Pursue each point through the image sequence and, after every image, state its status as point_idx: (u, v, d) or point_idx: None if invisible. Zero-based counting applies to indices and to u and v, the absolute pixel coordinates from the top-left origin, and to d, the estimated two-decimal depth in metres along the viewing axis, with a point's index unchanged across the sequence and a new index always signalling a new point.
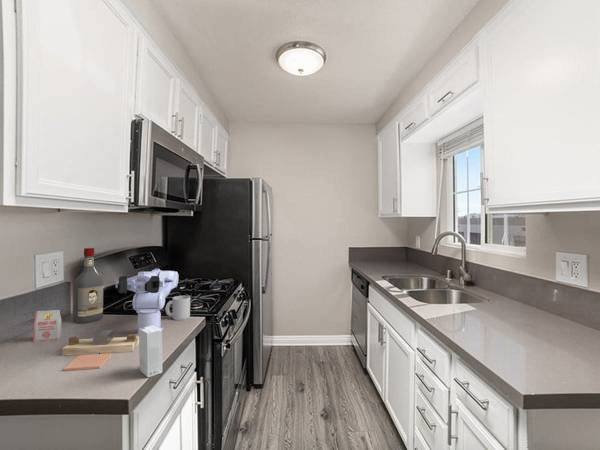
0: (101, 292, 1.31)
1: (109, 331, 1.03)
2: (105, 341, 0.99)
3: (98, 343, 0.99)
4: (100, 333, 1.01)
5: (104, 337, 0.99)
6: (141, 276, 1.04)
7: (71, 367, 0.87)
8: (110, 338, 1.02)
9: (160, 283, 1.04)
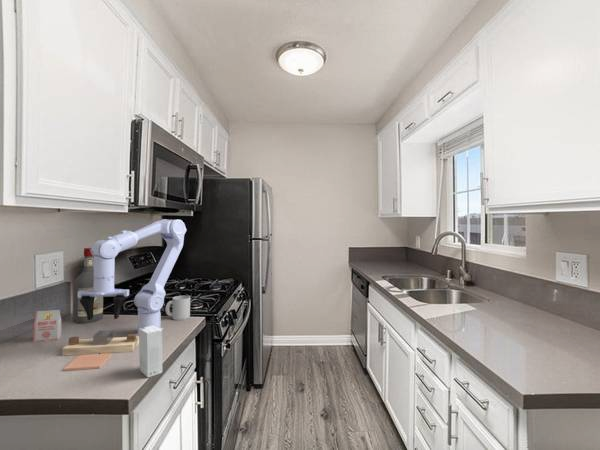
0: None
1: (109, 331, 1.03)
2: (105, 341, 0.99)
3: (98, 343, 0.99)
4: (100, 333, 1.01)
5: (104, 337, 0.99)
6: None
7: (71, 367, 0.87)
8: (110, 338, 1.02)
9: None
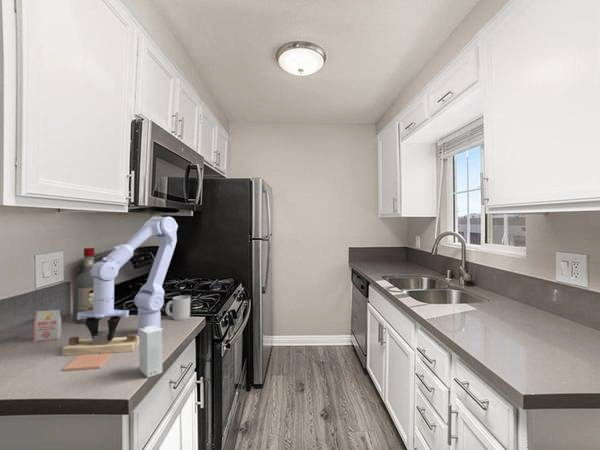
0: None
1: None
2: (105, 341, 0.99)
3: (98, 343, 0.99)
4: (100, 333, 1.01)
5: (104, 337, 0.99)
6: None
7: (71, 367, 0.87)
8: None
9: None
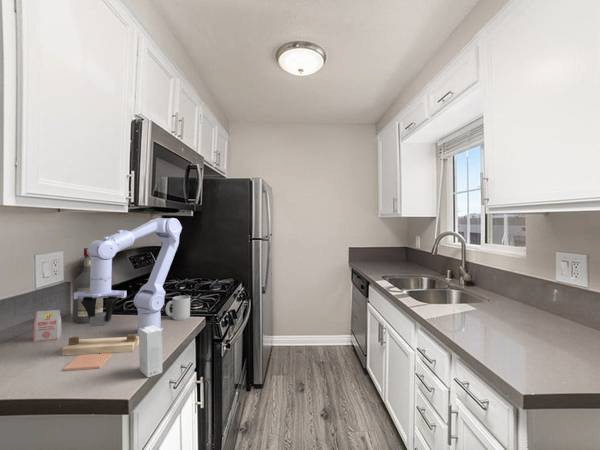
0: None
1: None
2: (102, 322, 0.97)
3: (95, 324, 0.96)
4: (97, 314, 0.99)
5: (101, 318, 0.97)
6: None
7: (71, 367, 0.87)
8: None
9: None
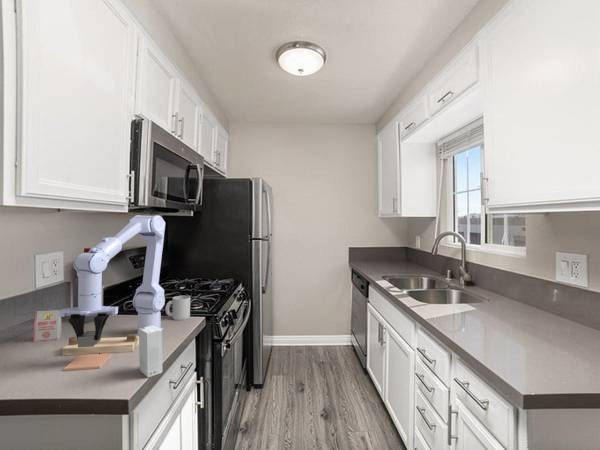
0: None
1: None
2: (91, 343, 0.90)
3: (84, 345, 0.89)
4: (86, 333, 0.91)
5: (90, 338, 0.89)
6: None
7: (71, 367, 0.87)
8: None
9: None
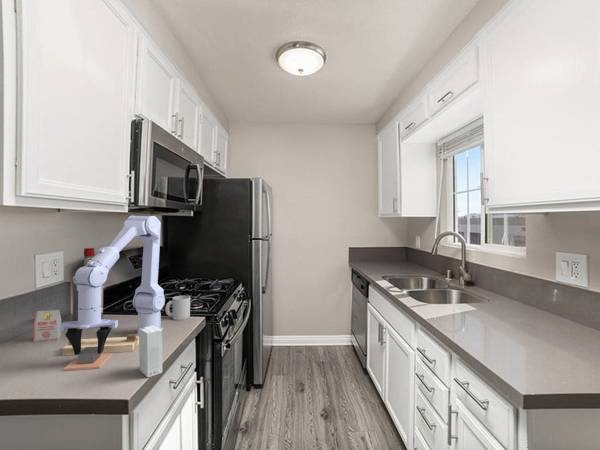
0: None
1: (96, 348, 0.93)
2: (91, 359, 0.90)
3: (83, 362, 0.89)
4: (86, 350, 0.91)
5: (90, 355, 0.90)
6: None
7: (71, 367, 0.87)
8: (97, 355, 0.93)
9: None
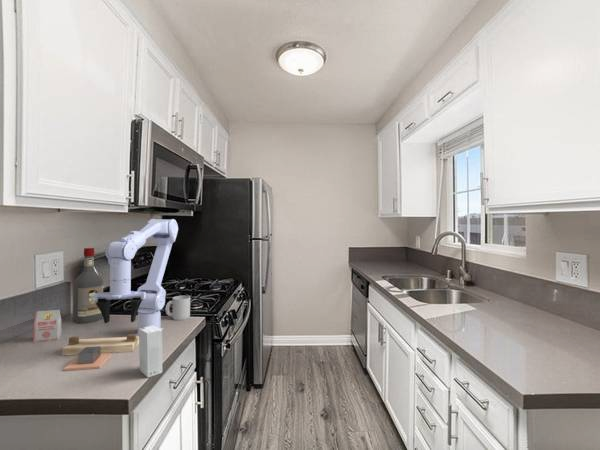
0: (101, 292, 1.31)
1: (96, 348, 0.93)
2: (91, 359, 0.90)
3: (83, 362, 0.89)
4: (86, 350, 0.91)
5: (90, 355, 0.90)
6: None
7: (71, 367, 0.87)
8: (97, 355, 0.93)
9: None
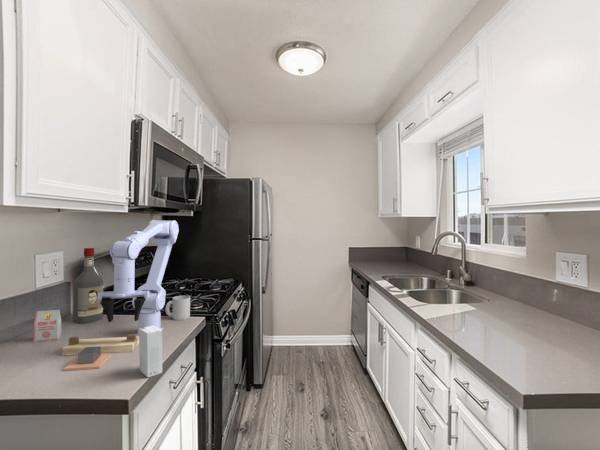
0: None
1: (96, 348, 0.93)
2: (91, 359, 0.90)
3: (83, 362, 0.89)
4: (86, 350, 0.91)
5: (90, 355, 0.90)
6: None
7: (71, 367, 0.87)
8: (97, 355, 0.93)
9: None
